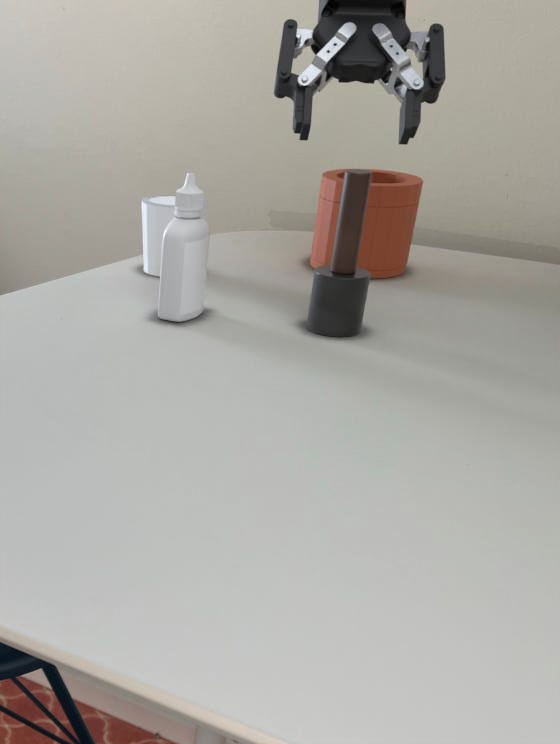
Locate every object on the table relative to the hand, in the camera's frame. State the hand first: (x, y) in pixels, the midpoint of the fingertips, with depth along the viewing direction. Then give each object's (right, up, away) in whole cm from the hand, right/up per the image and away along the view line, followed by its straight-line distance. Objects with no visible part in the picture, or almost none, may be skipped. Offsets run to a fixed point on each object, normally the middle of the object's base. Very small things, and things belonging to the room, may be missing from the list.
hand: (355, 136), depth 85 cm
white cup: (-14, -4, +20) cm, 25 cm away
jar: (+7, -3, +23) cm, 24 cm away
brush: (-1, -15, +4) cm, 16 cm away
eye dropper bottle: (-14, -13, +7) cm, 21 cm away
